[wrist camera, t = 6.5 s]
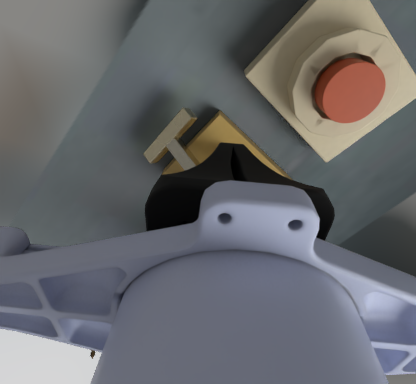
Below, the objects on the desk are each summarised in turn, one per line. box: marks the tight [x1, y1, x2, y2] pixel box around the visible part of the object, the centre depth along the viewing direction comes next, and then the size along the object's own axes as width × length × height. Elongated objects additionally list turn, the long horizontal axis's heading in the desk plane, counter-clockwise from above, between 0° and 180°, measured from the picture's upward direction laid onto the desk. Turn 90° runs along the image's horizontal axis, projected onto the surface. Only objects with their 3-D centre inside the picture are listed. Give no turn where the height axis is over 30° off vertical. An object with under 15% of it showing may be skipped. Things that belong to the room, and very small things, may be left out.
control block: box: [244, 0, 416, 162], centre depth 18 cm, size 10×8×4 cm
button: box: [315, 58, 386, 123], centre depth 16 cm, size 4×4×2 cm
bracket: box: [162, 111, 292, 180], centre depth 22 cm, size 10×8×8 cm
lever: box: [143, 107, 200, 171], centre depth 21 cm, size 10×6×2 cm, turn 48°
